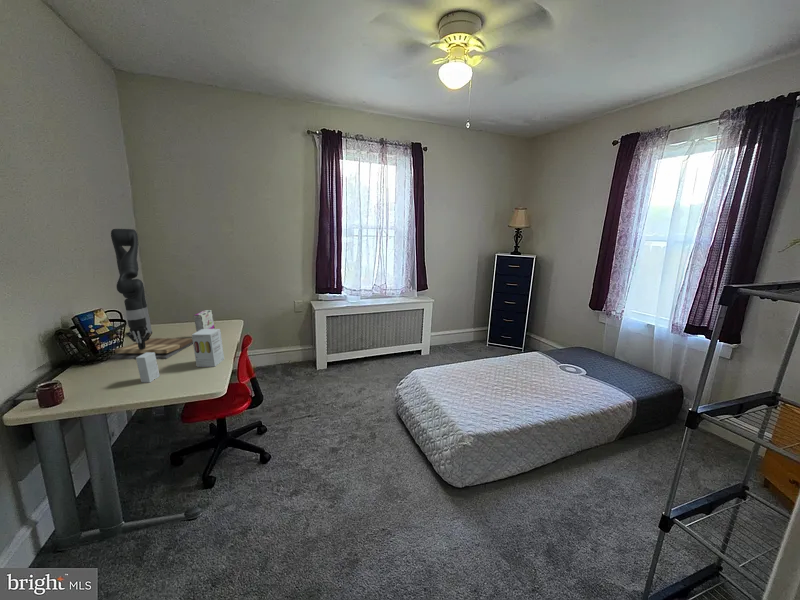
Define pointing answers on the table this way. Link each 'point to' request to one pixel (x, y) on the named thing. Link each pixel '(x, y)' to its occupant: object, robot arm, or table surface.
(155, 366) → the skincare box
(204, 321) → the candy bar box
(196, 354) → the supplement box
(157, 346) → the oak plank
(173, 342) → the floor section
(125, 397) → the table surface
